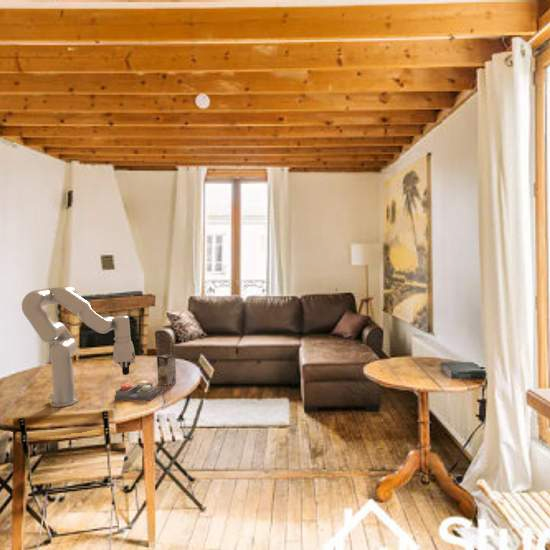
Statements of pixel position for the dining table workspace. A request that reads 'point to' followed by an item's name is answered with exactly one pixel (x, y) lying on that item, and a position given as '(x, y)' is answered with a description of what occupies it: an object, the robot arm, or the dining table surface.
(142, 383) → the button cream
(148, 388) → the button sage
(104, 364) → the dining table surface
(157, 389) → the button panel
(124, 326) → the robot arm
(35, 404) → the dining table surface
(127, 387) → the button red
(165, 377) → the coffee box
